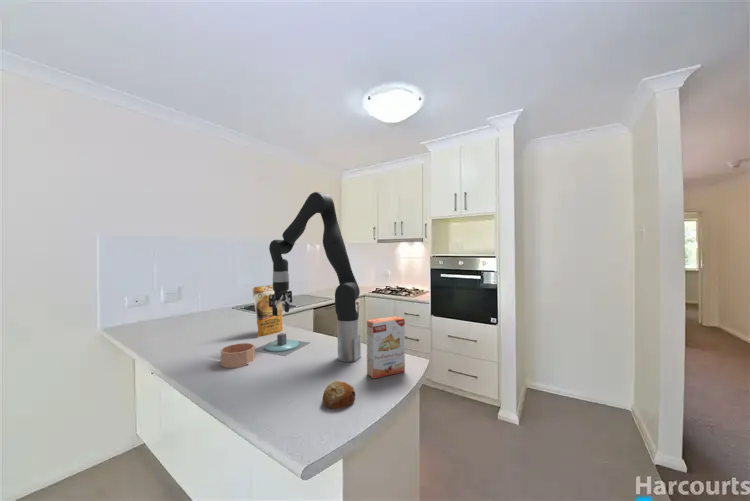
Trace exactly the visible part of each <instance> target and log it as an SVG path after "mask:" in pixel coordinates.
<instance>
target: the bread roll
mask: <svg viewBox="0 0 750 501" xmlns="http://www.w3.org/2000/svg"><path fill="white" fill-rule="evenodd" d="M355 398H356V391H355V389H354V386H352V385H351V384H349V383H347V382H345V381H340V380H334V381H331V382H330V383H329V384H328V385H327V386H326V388H325V389H324V391H323V394H322V403H323V406H325V407H326V408H327V409H332V410H339V409H343V408H347V407H349V406H351V405H352V404H353V403H354V401H355Z"/></svg>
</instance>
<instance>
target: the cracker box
mask: <svg viewBox="0 0 750 501" xmlns="http://www.w3.org/2000/svg"><path fill="white" fill-rule="evenodd" d="M405 323H406V319H405V318H404V317H400V316H398V315H396V316H390V317H389V316H388V317H379V318H373V319H367V320H366V374H367V375H368V376H369V377H371V378H372V379H378V378H382V377H386V376H391V375H394V374H399V373H404V372H405V370H406V368H405V367H406V365H405V363H406V360H405V359H406V357H405V356H406V354H405V353H406V351H405V350H406V349H405V347H406V346H405V342H406V341H405V340H406V339H405V338H406V337H405V335H406V334H405V333H406V332H405V331H406V329H405V326H406V325H405Z"/></svg>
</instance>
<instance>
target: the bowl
mask: <svg viewBox="0 0 750 501" xmlns="http://www.w3.org/2000/svg"><path fill="white" fill-rule="evenodd" d="M255 349H256V345H255V344H254V343H249V342H248V343H247V342H243V343H241V342H240V343H236V344H235V343H234V344H231V345H227V346H225V347H222V349H221V350H220V366H222V368H227V369H237V368H242V367H245V366H249V365H250V364H249V363H251V362H253V361H254V360H255V359H256V352H255Z"/></svg>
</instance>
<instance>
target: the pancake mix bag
mask: <svg viewBox="0 0 750 501" xmlns="http://www.w3.org/2000/svg"><path fill="white" fill-rule="evenodd" d="M270 294H274V291H273V284H270V285H268V284H267V285H260V286H255V287H254V286H253V288H252V298H253V304H254V310H255V314H256V324H257V336H256V338H260V337H266V336H271V335H274V334H279V333H282V332H283V331H284V330H283V301H282V302H280V304H278V307H277V310H278V315H277V316H273V314H272V312H273V311H272V307H269V295H270ZM275 305H276V304H275Z"/></svg>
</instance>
